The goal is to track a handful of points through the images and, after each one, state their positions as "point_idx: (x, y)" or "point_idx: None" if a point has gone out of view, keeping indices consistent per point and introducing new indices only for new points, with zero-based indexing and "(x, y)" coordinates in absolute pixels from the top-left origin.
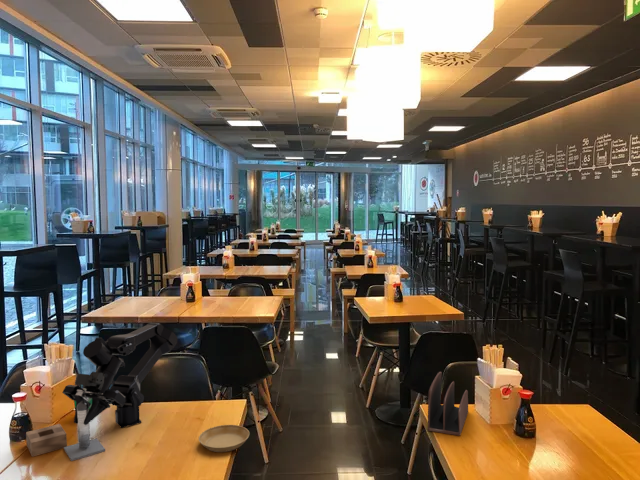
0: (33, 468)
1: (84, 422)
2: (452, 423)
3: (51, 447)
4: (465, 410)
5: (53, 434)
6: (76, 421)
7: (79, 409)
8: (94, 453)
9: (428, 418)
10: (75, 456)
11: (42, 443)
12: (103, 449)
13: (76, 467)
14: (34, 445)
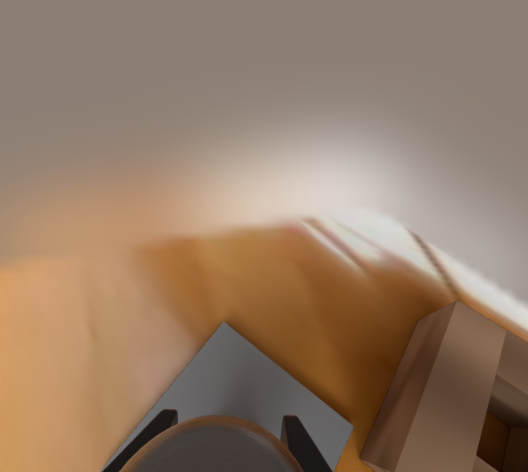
0: (325, 249)
1: (164, 414)
2: None
3: (397, 386)
4: None
5: (461, 431)
6: (283, 440)
7: (208, 418)
8: (148, 415)
9: None
10: (218, 345)
11: (430, 345)
12: (105, 465)
13: (168, 284)
14: (442, 316)
